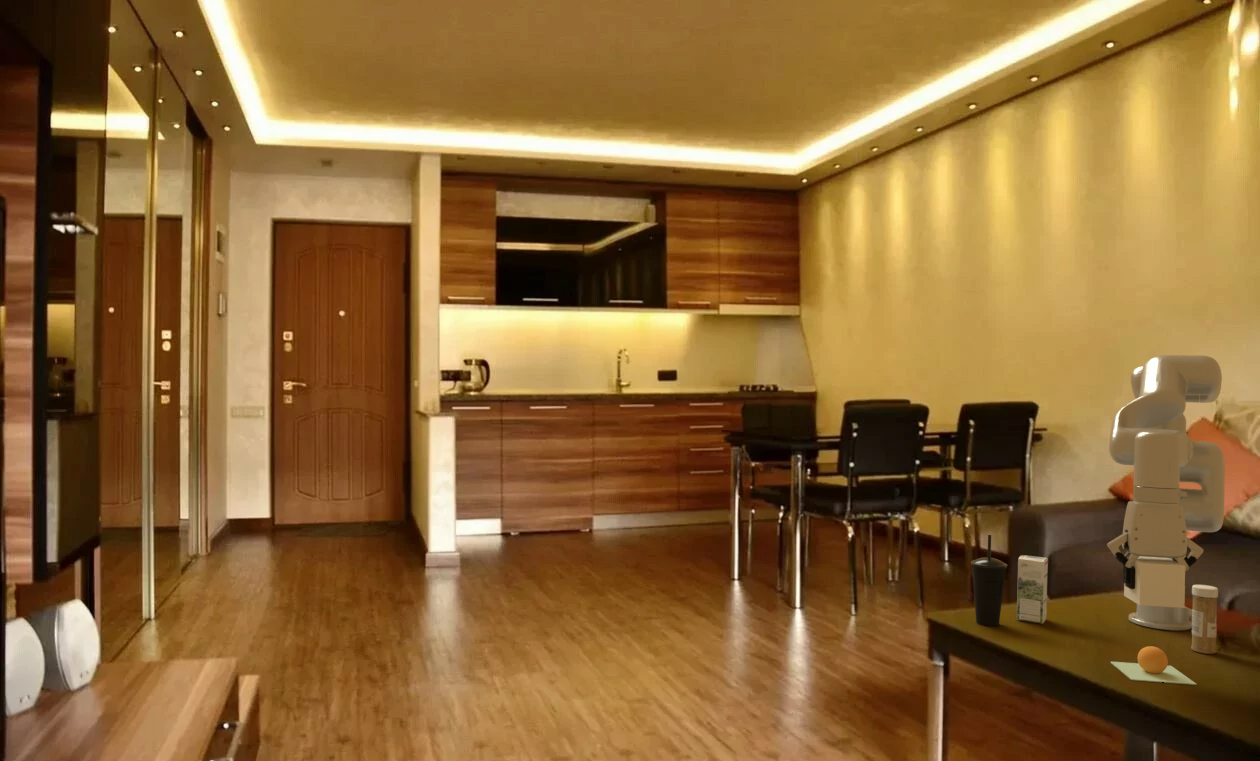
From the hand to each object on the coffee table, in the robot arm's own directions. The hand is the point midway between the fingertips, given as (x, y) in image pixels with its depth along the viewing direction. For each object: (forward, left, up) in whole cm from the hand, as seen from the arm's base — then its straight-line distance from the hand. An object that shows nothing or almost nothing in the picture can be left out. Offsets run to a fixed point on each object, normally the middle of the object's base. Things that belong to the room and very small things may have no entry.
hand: (1153, 588), depth 173 cm
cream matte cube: (0, 0, -3) cm, 3 cm away
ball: (0, 0, -14) cm, 14 cm away
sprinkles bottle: (-17, -19, -16) cm, 30 cm away
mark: (0, 0, -16) cm, 16 cm away
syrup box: (+12, -37, -16) cm, 42 cm away
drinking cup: (+23, -31, -16) cm, 42 cm away
